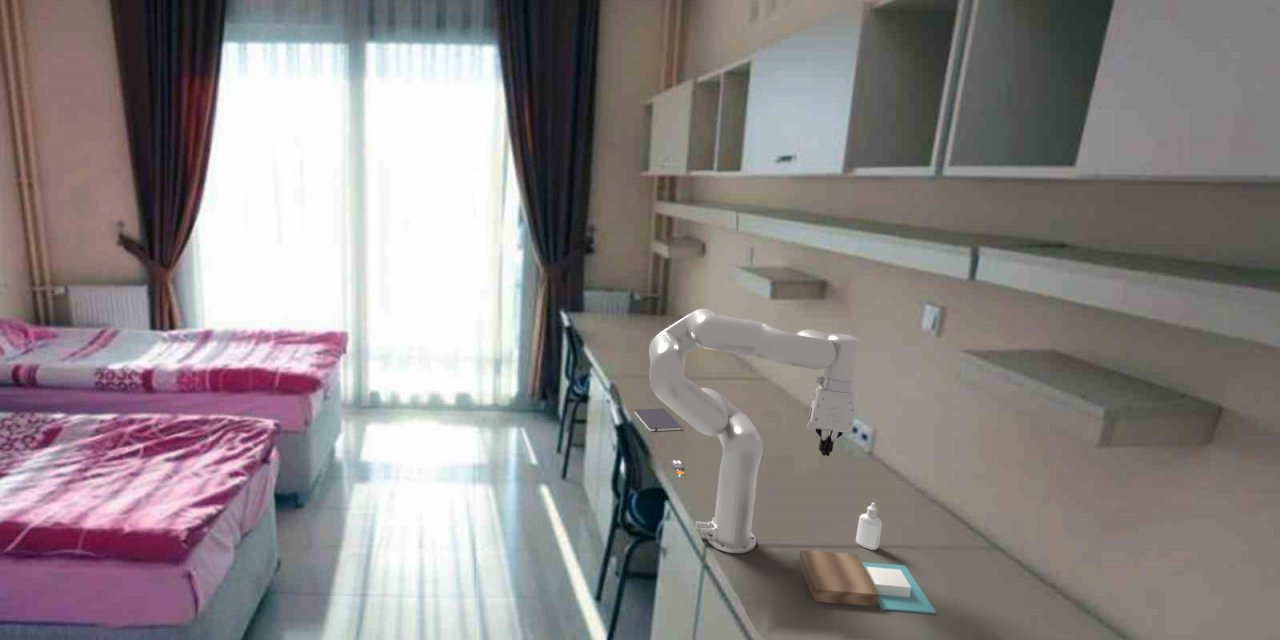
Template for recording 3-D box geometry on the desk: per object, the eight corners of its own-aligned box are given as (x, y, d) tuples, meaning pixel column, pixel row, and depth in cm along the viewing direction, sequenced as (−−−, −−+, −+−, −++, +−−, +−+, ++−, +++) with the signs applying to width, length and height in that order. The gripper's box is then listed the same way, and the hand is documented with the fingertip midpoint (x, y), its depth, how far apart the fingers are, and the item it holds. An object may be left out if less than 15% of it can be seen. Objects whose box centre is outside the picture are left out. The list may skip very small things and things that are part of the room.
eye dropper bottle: (866, 552, 164) (873, 509, 162) (853, 540, 169) (859, 498, 167) (880, 550, 166) (887, 507, 163) (866, 538, 171) (873, 497, 168)
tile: (874, 594, 146) (875, 584, 145) (865, 576, 153) (866, 566, 152) (909, 597, 146) (911, 587, 145) (898, 579, 152) (900, 569, 152)
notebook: (681, 431, 240) (663, 411, 260) (682, 427, 240) (663, 408, 259) (649, 432, 236) (633, 413, 256) (650, 428, 236) (633, 409, 256)
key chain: (669, 463, 210) (670, 459, 210) (680, 463, 211) (681, 459, 211) (677, 481, 198) (678, 476, 198) (689, 481, 198) (689, 477, 198)
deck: (814, 601, 142) (816, 589, 142) (798, 560, 158) (800, 549, 157) (877, 606, 142) (879, 594, 141) (855, 565, 158) (857, 554, 157)
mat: (881, 609, 141) (881, 607, 141) (856, 563, 159) (856, 561, 159) (935, 613, 141) (936, 612, 141) (904, 567, 158) (905, 565, 158)
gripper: (808, 384, 154) (797, 455, 158) (871, 392, 153) (858, 463, 157) (803, 376, 162) (792, 444, 165) (863, 383, 161) (850, 451, 164)
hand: (824, 453), depth 161 cm, fingers closed
